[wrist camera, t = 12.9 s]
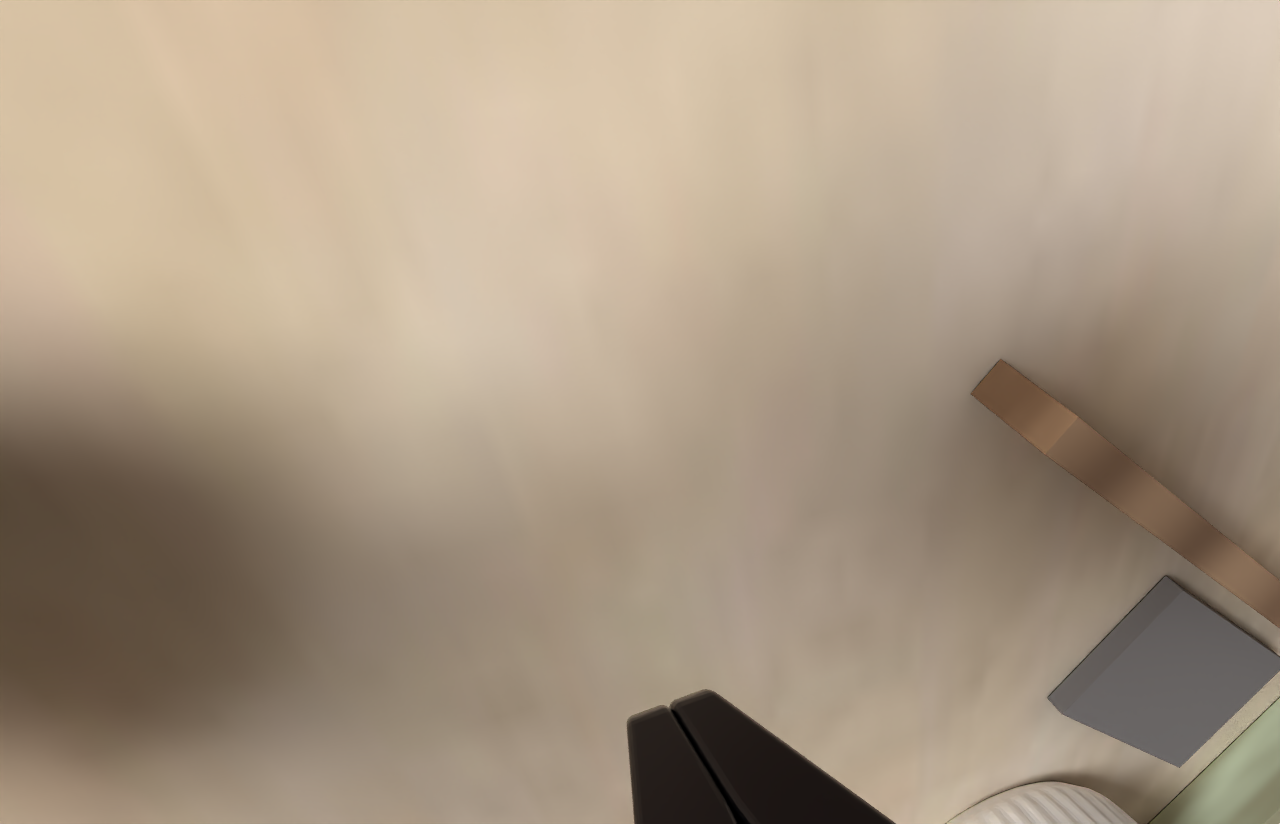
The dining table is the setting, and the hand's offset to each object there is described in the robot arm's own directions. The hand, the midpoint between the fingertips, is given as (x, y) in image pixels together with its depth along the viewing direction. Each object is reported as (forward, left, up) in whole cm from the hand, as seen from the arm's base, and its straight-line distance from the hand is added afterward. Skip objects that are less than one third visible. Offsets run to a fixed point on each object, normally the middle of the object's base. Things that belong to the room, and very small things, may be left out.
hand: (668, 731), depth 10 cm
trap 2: (+24, -25, -13) cm, 37 cm away
